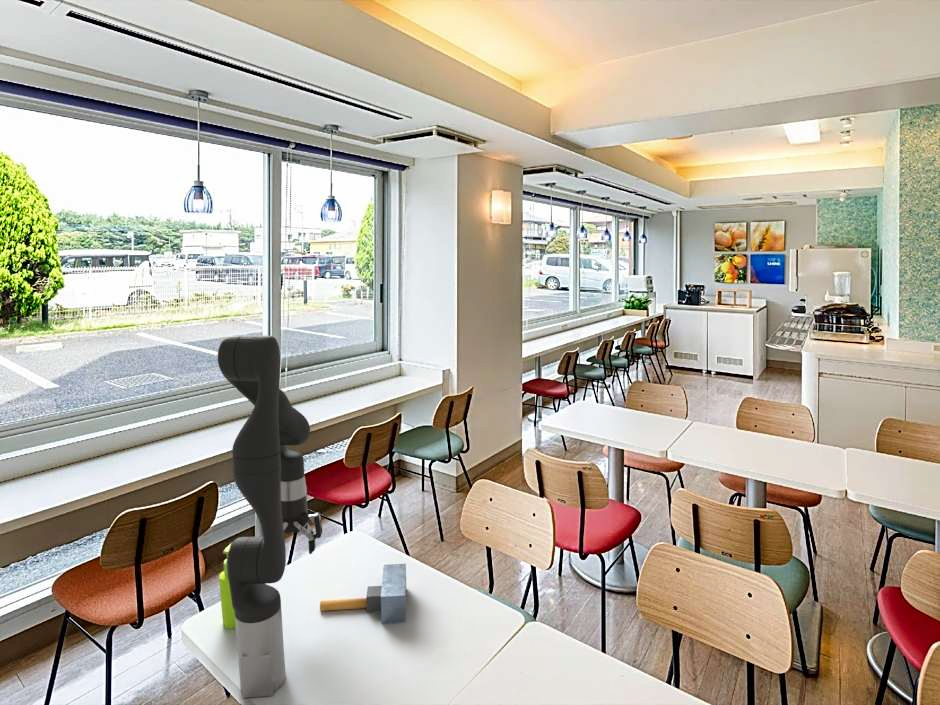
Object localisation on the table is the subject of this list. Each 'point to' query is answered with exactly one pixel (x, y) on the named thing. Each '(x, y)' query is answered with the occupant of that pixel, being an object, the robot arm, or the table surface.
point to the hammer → (356, 602)
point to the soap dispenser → (226, 596)
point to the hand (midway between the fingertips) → (294, 553)
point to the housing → (393, 594)
